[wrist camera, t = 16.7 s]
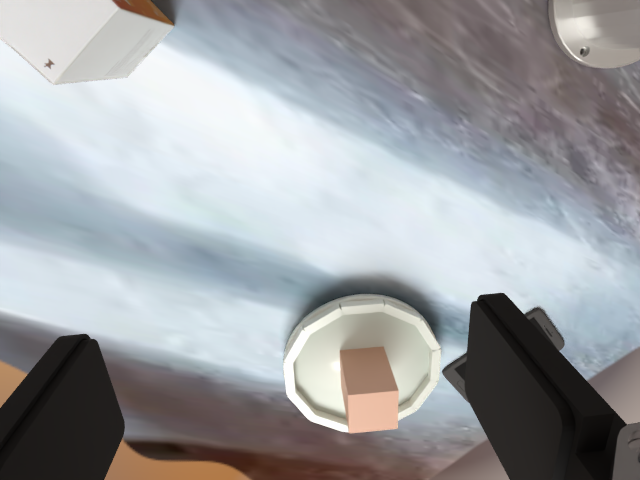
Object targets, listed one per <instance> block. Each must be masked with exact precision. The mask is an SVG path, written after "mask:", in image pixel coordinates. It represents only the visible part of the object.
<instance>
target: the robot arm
mask: <svg viewBox="0 0 640 480" xmlns="http://www.w3.org/2000/svg"><path fill="white" fill-rule="evenodd" d="M548 14H549V20H550V27H551V29H552V32H553V35H554V38H555V40H556V42H557V43H558V45H559V46H560V48H561V49H562V51H563V52H564V53H565V54H566V55H567V56H568V57H569V58H571V59H572V60H574V61H576V62H577V63H579V64H581V65H585V66H588V67H591V68H618V67H622V66H625V65H629V64H632V63H634V62H636V61H638V60H640V0H549V3H548ZM580 50H581V52H580ZM465 393H466V396H467V399H468V401H469V403H470V405H471V407H472V409H473V410H474V412H475V414H476V416H477V418H478V420H479V422H480V424H481V426H482V428H483V429H484V431H485V433H486V435H487V437H488V439H489V441H490V443H491V445H492V447H493V448H494V450H495V452H496V454H497V456H498V458H499V460H500V462H501V463H502V465H503V467H504V469H505V471H506V473H507V475H508V477H509V479H510V480H640V422H638V423H633V424H628V425H627V424H626V423H625V422H624V421H623V420H622V419H621V418H620V417H619V416H618V414H617V413H616V412H615V411H614V410H613V409H612V408H611V407H610V406H609V405H608V404H607V403H606V401H605V400H604V399H603V398H602V397H601V396H600V395H599V394H598V393H597V392H596V391H595V390H594V388H593V387H592V386H591V385H590V384H589V383H588V382H587V381H586V380H585V379H584V378H583V377H582V375H581V374H580V373H579V372H578V371H577V370H576V369H575V368H574V367H573V366H572V365H571V364H570V362H569V361H568V360H567V359H566V358H565V357H564V356H563V355H562V354H561V353H560V352H559V351H558V349H557V348H556V347H555V346H553V345H552V344H551V343H550V342H549V341H548V340H547V339H546V338H545V337H544V336H543V335H542V334H541V332H540V331H539V330H538V329H537V328H536V327H535V326H534V325H533V324H532V323H531V322H530V321H529V319H528V318H527V317H526V316H525V315H524V314H523V313H522V312H521V311H520V310H519V309H518V307H517V306H516V305H515V304H514V303H513V302H512V301H511V300H510V299H509V298H508V297H507V296H506V295H505V294H504V293H496V294H486V295H480V296H479V297H478V299H477V301H473V302H472V304H471V311H470V323H469V335H468V347H467V360H466V372H465ZM124 428H125V425H124V419H123V416H122V413H121V410H120V407H119V404H118V401H117V398H116V395H115V392H114V389H113V386H112V383H111V380H110V377H109V374H108V371H107V368H106V365H105V362H104V359H103V356H102V354H101V351H100V348H99V345H98V342H97V341H96V340H95V339H90V337H89V336H88V335H87V334H79V335H68V336H61V337H59V338H58V339H57V340H56V341H55V342H54V343H53V344H52V346H51V347H50V348H49V349H48V351H47V352H46V353H45V354H44V355H43V357H42V358H41V359H40V360H39V362H38V363H37V364H36V365H35V366H34V368H33V369H32V370H31V371H30V372H29V374H28V375H27V376H26V377H25V379H24V380H23V381H22V382H21V384H20V385H19V386H18V387H17V388H16V390H15V391H14V392H13V393H12V395H11V396H10V397H9V398H8V399H7V401H6V402H5V403H4V404H3V405H2V407H1V408H0V480H104V479H105V477H106V474H107V472H108V469H109V467H110V465H111V463H112V460H113V458H114V456H115V454H116V451H117V449H118V447H119V444H120V442H121V440H122V437H123V435H124Z"/></svg>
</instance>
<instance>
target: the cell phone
mask: <svg viewBox="0 0 640 480" xmlns="http://www.w3.org/2000/svg"><path fill="white" fill-rule="evenodd" d="M525 316H526V317H527V318H528V319H529V321H530V322H531V323H532V324H533V325H534V326H535V327H536V328H537V329H538V330H539V331H540V332H541V334H542V335H543V336H544V337H545V338H546V339H547V340H548V341H549V342H550V343H551V344H552V345H553V346H555V347H556V348H557V349H558V351H560V350H561V349H562V348H563V347H564V341H563V339H562V338H561V336H560V335H559V333H558V332H557V331H556V329H555V328H554V326H553V325H552V323H551V322H550V321H549V319H548V318H547V316H546V315H545V314H544V312H543V311H542V310H541V309H539V308H536V309H533V310H532V311H530V312H528V313H527V314H525ZM466 360H467V353H466V354H465V355H463V356H462V357H460V358H459V359H457V360H456V361H454V362H453V363H451V364H450V365H448V366H447V367H446V368H444V369H443V371H442V373H443V375H444V376H445V378H446V379H447V380H448V381H449V382H450V383H451V384H452V385H453V386H454V388H455V389H456V390H457V391H458V392H459V393H460V394H461V395H462V396H463V397H464V398H465V400H466V401H468V399H467V396H466V393H465V372H466ZM468 402H469V401H468Z"/></svg>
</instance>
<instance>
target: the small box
mask: <svg viewBox="0 0 640 480" xmlns="http://www.w3.org/2000/svg"><path fill="white" fill-rule="evenodd" d="M173 28H174V24H173V23H172V22H171V21H170V20H169V19H168V18H167V17H166V16H165V15H164V14H163V13H162V12H161V11H160V10H159V9H158V8H157V7H156V6H155V5H154V3H153V2H152V1H151V0H0V39H1V40H2V41H3V42H4V43H6V44H7V45H8V46H9V47H11V48H12V49H13V50H14V51H16V52H17V53H18V54H19V55H20V56H21V57H22V58H23V59H25V60H26V61H27V62H28V63H29V64H30V65H31V66H32V67H33V68H35V69H36V70H37V71H38V72H39V73H40V74H41V75H42V76H44V77H45V78H46V79H47V80H48V81H49V82H50V83H52V84H53V85H58V84H67V83H77V82H87V81H97V80H108V79H117V78H127V77H128V76H129V75H130V74H131V73H132V72H133V71H134V70H135V69H136V67H137V66H138V65H139V64H140V63H141V62H142V61H143V60H144V59H145V58H146V57H147V56H148V54H149V53H150V52H151V51H152V50H153V49H154V48H155V47H156V46H157V45H158V44H159V43H160V42H161V41H162V40H163V39H164V37H165V36H166V35H167V34H168V33H169V32H170V31H171V30H172V29H173Z"/></svg>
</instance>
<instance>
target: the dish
mask: <svg viewBox="0 0 640 480" xmlns="http://www.w3.org/2000/svg"><path fill="white" fill-rule="evenodd" d="M383 346H384V349H385V352H386V355H387V358H388V361H389V364H390V367H391V370H392V372H393V375H394V378H395V381H396V384H397V387H398V390H399V398H398V420H400V419H402V418H404V417H406V416H408V415H410V414H412V413H413V412H415V411H416V410H418V409H419V407H420V406H421V405H422V403H423V402H424V401H425V399H426V398H427V397H428V395H429V394H430V393H431V391H432V390H433V389H434V387H435V386H436V385H437V383H438V381H439V371H440V359H441V347H440V345H439V344H438V342H437V340H436V338H435V335H434V333H433V331H432V330H431V328H430V326H429V324H428V322H427V321H426V320H425V318H424V317H423V316H422V315H421V314H420V313H419V312H418V311H417V310H416V309H414V308H413V307H411V306H410V305H408V304H406V303H404V302H402V301H401V300H398V299H395V298H392V297H389V296H384V295H378V294H356V295H349V296H345V297H341V298H338V299H335V300H332V301H330V302H327V303H325V304H324V305H322V306H320V307H318V308H317V309H315V310H314V311H312V312H311V313H309V314H308V315H307V316H306V317H305V318H304V319H303V320H302V321H301V322H300V323H299V324H298V325H297V326H296V328H295V329H294V331H293V332H292V334H291V336H290V338H289V340H288V342H287V345H286V348H285V352H284V358H283V373H284V379H285V383H286V392H287V396H288V397H289V399H290V400H291V401H292V402H293V403H294V404H295V405H296V406H297V407H298V408H299V410H300V411H301V412H302V413H303V414H304V415H305V416H306V417H307V418H308V420H310V421H312V422H315V423H318V424H321V425H324V426H327V427H330V428H333V429H336V430H339V431H342V432H344V431H345V432H349V430H348V424H347V418H346V412H345V406H344V401H343V395H342V389H341V375H340V350H349V349H360V348H371V347H383Z"/></svg>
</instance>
